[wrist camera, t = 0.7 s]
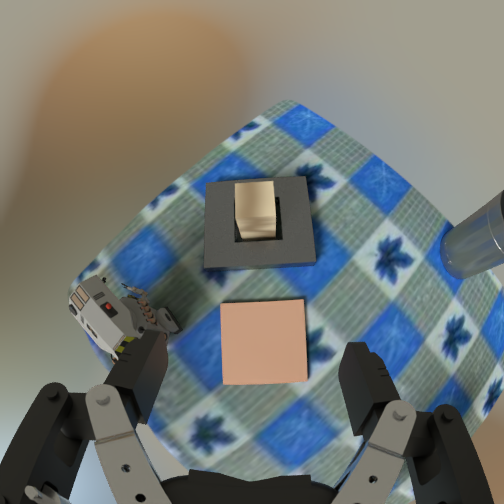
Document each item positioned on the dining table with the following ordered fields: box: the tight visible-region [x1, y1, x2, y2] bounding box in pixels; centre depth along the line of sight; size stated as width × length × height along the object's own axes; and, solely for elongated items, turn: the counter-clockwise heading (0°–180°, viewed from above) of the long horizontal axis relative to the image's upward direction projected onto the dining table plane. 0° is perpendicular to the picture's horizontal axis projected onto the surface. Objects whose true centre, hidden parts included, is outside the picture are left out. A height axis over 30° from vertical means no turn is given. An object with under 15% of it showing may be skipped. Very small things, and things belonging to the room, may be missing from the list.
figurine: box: [69, 275, 182, 364], centre depth 33 cm, size 9×12×15 cm
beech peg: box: [235, 181, 276, 241], centre depth 39 cm, size 5×5×9 cm
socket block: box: [204, 176, 316, 272], centre depth 42 cm, size 16×14×2 cm
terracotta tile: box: [221, 299, 307, 385], centre depth 38 cm, size 12×12×1 cm
